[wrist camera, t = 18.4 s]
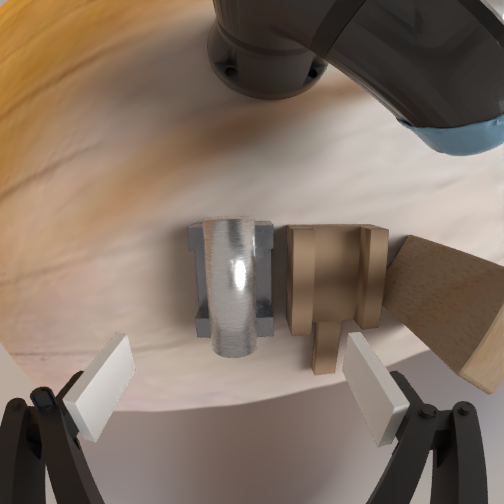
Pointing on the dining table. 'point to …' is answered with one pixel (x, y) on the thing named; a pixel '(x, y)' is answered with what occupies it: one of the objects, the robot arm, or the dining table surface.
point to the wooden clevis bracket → (334, 283)
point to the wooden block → (451, 307)
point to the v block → (261, 271)
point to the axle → (231, 284)
